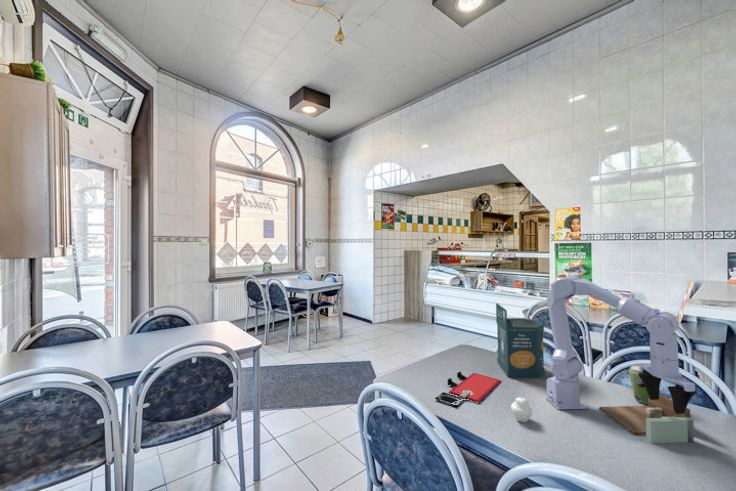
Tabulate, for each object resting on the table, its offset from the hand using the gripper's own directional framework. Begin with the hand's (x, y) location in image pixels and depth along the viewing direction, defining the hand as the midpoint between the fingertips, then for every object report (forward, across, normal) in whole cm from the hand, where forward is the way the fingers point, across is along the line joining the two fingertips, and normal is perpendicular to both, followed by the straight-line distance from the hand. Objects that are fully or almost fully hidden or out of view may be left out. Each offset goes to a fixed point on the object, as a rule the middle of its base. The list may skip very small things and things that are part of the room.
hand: (666, 405), depth 88 cm
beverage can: (+10, +21, -11) cm, 26 cm away
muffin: (+9, +12, +35) cm, 38 cm away
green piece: (+10, 0, 0) cm, 10 cm away
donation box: (+9, +50, +17) cm, 53 cm away
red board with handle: (+9, +33, +46) cm, 57 cm away
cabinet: (+10, +10, -1) cm, 14 cm away
